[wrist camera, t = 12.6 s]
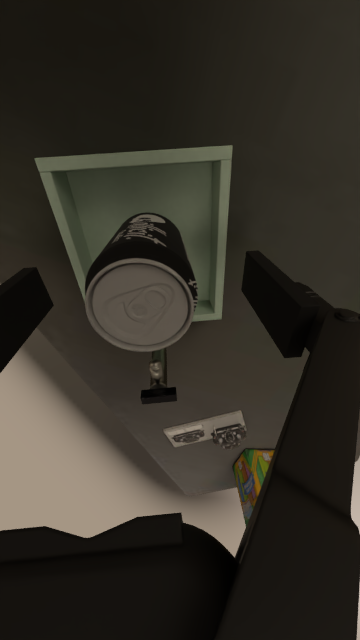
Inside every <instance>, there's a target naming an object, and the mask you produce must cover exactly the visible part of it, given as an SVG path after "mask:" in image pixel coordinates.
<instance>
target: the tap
mask: <svg viewBox="0 0 360 640" xmlns="http://www.w3.org/2000/svg"><path fill="white" fill-rule="evenodd" d="M149 368H150V373H151V382H150V389H149V390H142V391H141V401H142V404H151V403H161V402H172V401H177V394H176V387H171V388H167V354H166V347H165V348H163V349H159V350H155V351H152V360H151V361H150V362H149Z"/></svg>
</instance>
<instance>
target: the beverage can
mask: <svg viewBox="0 0 360 640" xmlns="http://www.w3.org/2000/svg"><path fill="white" fill-rule="evenodd" d="M85 296H86V297H85V309H86V314H87V317H88V320H89V322H90V323H91V325H92V327H93V328H94V330H95V331H96V332H97V333H98V334H99V335H100V336H101V337H102V338H103V339H105V340H106V341H108V342H109V343H111V344H113V345H115V346H117V347H119V348H122V349H125V350H129V351H137V352H149V351H155V350H159V349H163V348H165V347H168V346H170V345H172V344H173V343H175V342H176V341H178V340H179V339H180V338H181V337H182V336H183V335H184V334H185V333H186V331H187V330H188V328H189V326H190V324H191V322H192V319H193V314H194V311H195V309H196V305H197V301H198V288H197V283H196V279H195V276H194V273H193V270H192V267H191V263H190V260H189V257H188V254H187V251H186V248H185V244H184V241H183V238H182V235H181V233H180V231H179V230H178V228H177V227H176V226H175V224H174V223H173V222H171V221H170V220H169V219H167V218H166V217H164V216H162V215H159V214H156V213H149V212H146V213H139V214H136V215H134V216H132V217H130V218H128V219H127V220H126V221H125V222H124V223H123V224H122V225H121V227H120V228H119V229H118V230H117V232H116V233H115V234H114V236H113V237H112V238H111V240H110V241H109V242H108V244H107V245H106V246H105V248H104V249H103V250H102V251H101V253H100V254H99V255H98V257H97V258H96V259H95V261H94V262H93V263H92V265H91V267H90V268H89V271H88V273H87V276H86V281H85Z"/></svg>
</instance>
